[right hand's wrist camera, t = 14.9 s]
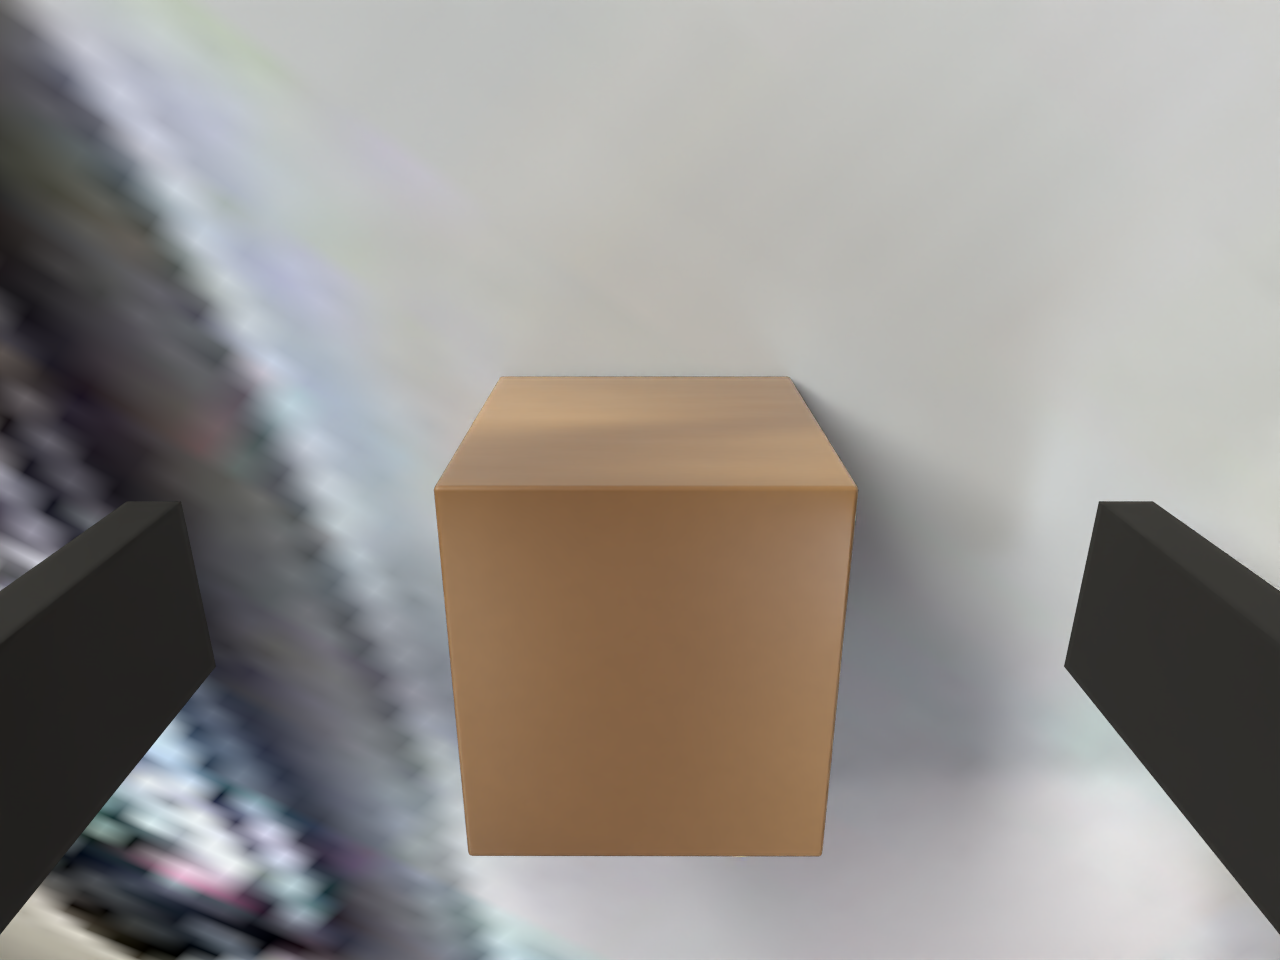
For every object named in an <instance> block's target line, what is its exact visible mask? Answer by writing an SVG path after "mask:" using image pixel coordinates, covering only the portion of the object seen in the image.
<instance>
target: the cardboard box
mask: <svg viewBox="0 0 1280 960" xmlns="http://www.w3.org/2000/svg"><path fill="white" fill-rule="evenodd" d="M434 495H435V506H436V516H437V527H438V537H439V548H440V558H441V569H442V580H443V590H444V601H445V611H446V622H447V632H448V643H449V653H450V664H451V674H452V685H453V695H454V706H455V717H456V727H457V738H458V748H459V759H460V769H461V780H462V790H463V801H464V811H465V822H466V833H467V843H468V852H469V854H470V855H472V856H821V854H822V850H823V840H824V830H825V820H826V810H827V800H828V790H829V780H830V770H831V760H832V750H833V740H834V730H835V720H836V710H837V700H838V689H839V679H840V669H841V659H842V649H843V639H844V629H845V619H846V609H847V599H848V589H849V579H850V569H851V559H852V549H853V539H854V529H855V519H856V509H857V499H858V488H857V486H856V484H855V482H854V481H853V479H852V477H851V476H850V474H849V473H848V471H847V469H846V468H845V466H844V464H843V463H842V461H841V460H840V458H839V456H838V455H837V453H836V451H835V450H834V448H833V447H832V445H831V443H830V442H829V440H828V439H827V437H826V435H825V434H824V432H823V430H822V429H821V427H820V426H819V424H818V422H817V421H816V419H815V417H814V416H813V414H812V413H811V411H810V409H809V408H808V406H807V405H806V403H805V401H804V400H803V398H802V396H801V395H800V393H799V392H798V390H797V388H796V387H795V385H794V383H793V382H792V380H791V379H790V378H789V377H500V379H499V380H498V382H497V384H496V385H495V387H494V389H493V390H492V392H491V394H490V395H489V397H488V399H487V400H486V402H485V404H484V406H483V407H482V409H481V411H480V412H479V414H478V416H477V417H476V419H475V421H474V422H473V424H472V426H471V427H470V429H469V431H468V432H467V434H466V436H465V437H464V439H463V441H462V442H461V444H460V446H459V447H458V449H457V451H456V452H455V454H454V456H453V457H452V459H451V461H450V462H449V464H448V466H447V467H446V469H445V471H444V472H443V474H442V476H441V477H440V479H439V481H438V482H437V484H436V486H435V488H434Z"/></svg>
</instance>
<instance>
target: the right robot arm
mask: <svg viewBox="0 0 1280 960" xmlns="http://www.w3.org/2000/svg"><path fill="white" fill-rule="evenodd" d="M215 667H216V665H215V660H214V656H213V651H212V646H211V641H210V637H209V632H208V627H207V622H206V618H205V613H204V608H203V604H202V599H201V594H200V589H199V585H198V580H197V575H196V570H195V566H194V561H193V556H192V552H191V547H190V542H189V537H188V533H187V528H186V523H185V518H184V514H183V509H182V504H181V502H126V503H124V504H123V505H121V506H120V507H119V508H117V509H116V510H114V511H113V512H112V513H110V514H109V515H107V516H106V517H105V518H103V519H102V520H100V521H99V522H97V523H96V524H95V525H93V526H92V527H90V528H89V529H88V530H86V531H85V532H83V533H82V534H80V535H79V536H78V537H76V538H75V539H73V540H72V541H71V542H69V543H68V544H66V545H65V546H63V547H62V548H61V549H59V550H58V551H56V552H55V553H54V554H52V555H51V556H49V557H48V558H46V559H45V560H44V561H42V562H41V563H39V564H38V565H37V566H35V567H34V568H32V569H31V570H30V571H28V572H27V573H25V574H24V575H22V576H21V577H20V578H18V579H17V580H15V581H14V582H13V583H11V584H10V585H8V586H7V587H5V588H4V589H3V590H1V591H0V934H1V933H2V932H3V930H4V929H5V928H6V927H7V925H8V924H9V923H10V922H11V920H12V919H13V918H14V917H15V915H16V914H17V913H18V912H19V910H20V909H21V908H22V907H23V905H24V904H25V903H26V902H27V900H28V899H29V898H30V897H31V895H32V894H33V893H34V892H35V891H36V889H37V888H38V887H39V886H40V884H41V883H42V882H43V881H44V879H45V878H46V877H47V876H48V874H49V873H50V872H51V871H52V869H53V868H54V867H55V866H56V864H57V863H58V862H59V861H60V859H61V858H62V857H63V856H64V854H65V853H66V852H67V851H68V849H69V848H70V847H71V846H72V845H73V843H74V842H75V841H76V840H77V838H78V837H79V836H80V835H81V833H82V832H83V831H84V830H85V828H86V827H87V826H88V825H89V823H90V822H91V821H92V820H93V818H94V817H95V816H96V815H97V813H98V812H99V811H100V810H101V808H102V807H103V806H104V805H105V803H106V802H107V801H108V800H109V799H110V797H111V796H112V795H113V794H114V792H115V791H116V790H117V789H118V787H119V786H120V785H121V784H122V782H123V781H124V780H125V779H126V777H127V776H128V775H129V774H130V772H131V771H132V770H133V769H134V767H135V766H136V765H137V764H138V762H139V761H140V760H141V759H142V757H143V756H144V755H145V754H146V753H147V751H148V750H149V749H150V748H151V746H152V745H153V744H154V743H155V741H156V740H157V739H158V738H159V736H160V735H161V734H162V733H163V731H164V730H165V729H166V728H167V726H168V725H169V724H170V723H171V721H172V720H173V719H174V718H175V716H176V715H177V714H178V713H179V712H180V710H181V709H182V708H183V707H184V705H185V704H186V703H187V702H188V700H189V699H190V698H191V697H192V695H193V694H194V693H195V692H196V690H197V689H198V688H199V687H200V685H201V684H202V683H203V682H204V680H205V679H206V678H207V677H208V675H209V674H210V673H211V672H212V670H213V669H214V668H215ZM1064 667H1065V668H1066V669H1067V671H1068V672H1069V673H1070V674H1071V675H1072V677H1073V678H1074V679H1075V680H1076V682H1077V683H1078V684H1079V685H1080V687H1081V688H1082V689H1083V690H1084V692H1085V693H1086V694H1087V695H1088V697H1089V698H1090V699H1091V700H1092V702H1093V703H1094V704H1095V705H1096V707H1097V708H1098V709H1099V710H1100V712H1101V713H1102V714H1103V715H1104V717H1105V718H1106V719H1107V720H1108V721H1109V723H1110V724H1111V725H1112V726H1113V728H1114V729H1115V730H1116V731H1117V733H1118V734H1119V735H1120V736H1121V738H1122V739H1123V740H1124V741H1125V743H1126V744H1127V745H1128V746H1129V748H1130V749H1131V750H1132V751H1133V753H1134V754H1135V755H1136V756H1137V758H1138V759H1139V760H1140V761H1141V763H1142V764H1143V765H1144V766H1145V767H1146V769H1147V770H1148V771H1149V772H1150V774H1151V775H1152V776H1153V777H1154V779H1155V780H1156V781H1157V782H1158V784H1159V785H1160V786H1161V787H1162V789H1163V790H1164V791H1165V792H1166V794H1167V795H1168V796H1169V797H1170V799H1171V800H1172V801H1173V802H1174V804H1175V805H1176V806H1177V807H1178V809H1179V810H1180V811H1181V812H1182V813H1183V815H1184V816H1185V817H1186V818H1187V820H1188V821H1189V822H1190V823H1191V825H1192V826H1193V827H1194V828H1195V830H1196V831H1197V832H1198V833H1199V835H1200V836H1201V837H1202V838H1203V840H1204V841H1205V842H1206V843H1207V845H1208V846H1209V847H1210V848H1211V850H1212V851H1213V852H1214V853H1215V855H1216V856H1217V857H1218V858H1219V859H1220V861H1221V862H1222V863H1223V864H1224V866H1225V867H1226V868H1227V869H1228V871H1229V872H1230V873H1231V874H1232V876H1233V877H1234V878H1235V879H1236V881H1237V882H1238V883H1239V884H1240V886H1241V887H1242V888H1243V889H1244V891H1245V892H1246V893H1247V894H1248V896H1249V897H1250V898H1251V899H1252V900H1253V902H1254V903H1255V904H1256V905H1257V907H1258V908H1259V909H1260V910H1261V912H1262V913H1263V914H1264V915H1265V917H1266V918H1267V919H1268V920H1269V922H1270V923H1271V924H1272V925H1273V927H1274V928H1275V929H1276V930H1277V932H1278V933H1279V934H1280V591H1279V590H1277V589H1276V588H1275V587H1273V586H1272V585H1270V584H1269V583H1267V582H1266V581H1265V580H1263V579H1262V578H1260V577H1259V576H1258V575H1256V574H1255V573H1253V572H1252V571H1250V570H1249V569H1248V568H1246V567H1245V566H1243V565H1242V564H1241V563H1239V562H1238V561H1236V560H1235V559H1233V558H1232V557H1231V556H1229V555H1228V554H1226V553H1225V552H1224V551H1222V550H1221V549H1219V548H1218V547H1216V546H1215V545H1214V544H1212V543H1211V542H1209V541H1208V540H1207V539H1205V538H1204V537H1202V536H1201V535H1200V534H1198V533H1197V532H1195V531H1194V530H1192V529H1191V528H1190V527H1188V526H1187V525H1185V524H1184V523H1183V522H1181V521H1180V520H1178V519H1177V518H1175V517H1174V516H1173V515H1171V514H1170V513H1168V512H1167V511H1166V510H1164V509H1163V508H1161V507H1160V506H1158V505H1157V504H1156V503H1154V502H1099V504H1098V509H1097V513H1096V518H1095V523H1094V528H1093V532H1092V537H1091V542H1090V547H1089V551H1088V556H1087V561H1086V565H1085V570H1084V575H1083V580H1082V584H1081V589H1080V594H1079V599H1078V603H1077V608H1076V613H1075V617H1074V622H1073V627H1072V632H1071V636H1070V641H1069V646H1068V651H1067V655H1066V660H1065V665H1064Z"/></svg>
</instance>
